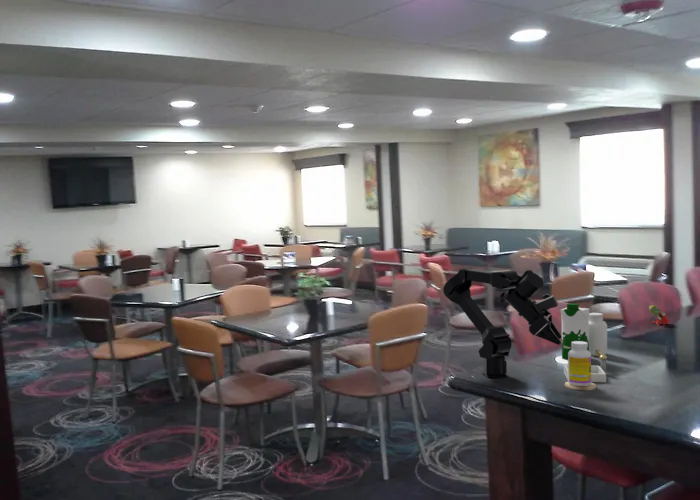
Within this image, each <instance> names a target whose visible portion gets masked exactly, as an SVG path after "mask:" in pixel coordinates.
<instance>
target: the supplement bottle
mask: <svg viewBox="0 0 700 500" xmlns="http://www.w3.org/2000/svg"><path fill="white" fill-rule="evenodd" d="M571 346H572V350H570V351H569V352H568V359H567V365H568V379H567V382H568V383H569V384H571V385H573V386H589V385H590V384H591V383H592V382H591V366H592V355H591V353H590V352H589V351H587V347H588V343H587V342H583V341H573V342H571Z"/></svg>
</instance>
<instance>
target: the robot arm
mask: <svg viewBox="0 0 700 500" xmlns="http://www.w3.org/2000/svg"><path fill="white" fill-rule="evenodd" d="M473 282H476V283H477V282H478V283H484V284H487V285H488V284H489V285H490V286H491V287H492V288H495V289H497V290H507V291H506V292H502V293H501V294H499V296H500V299H499V300H500V301H499V302H500V304H504V302H507V303H508V305H510V306H511V307H512V308H513V309H514V310H515V311H516V312H517V313H518V316H520V317H522V318H523V319H524V320H525V321H526V322H527V324H528V325H529V326H528V331H529V333H530V334H531V335H532V336H535V337H538V338H541V339H543V340H546V341H548V342H551V343H553V344H556V345H558V346H559V345H561V344H562V340H561V339H562V333H560V331H559V330H558V329H557V327H556V325H555V324H554V322H553V314H552V311H550V310H551V309H554V308H557V307H558V306H559V303H558V301H557V299H556V297H555V295H554V294H552V295H550V294H549V293H546V294H543V296H542V297H543V298H542V299H541V300H539V301H536V300H535V299H531V298H532V297H533V296H534V295H535V294H536V293H538V292H539V291H540V290H541V289H542V288H543V287H544V280H543V279H542V277H540V276H539V275H538V274H536V273H535V272H533V270H532V269H527V270H525V272H523V274H522V275H519V274H518V273H517V271H516V270H504V271H503V270H501V271H492V270H483V269H476V268H473V267H467V268H465V267H463V268H461V269H460V270H458V272H457V273H456V274H455V275H453V276H452V277H451V278H449V279H448V280H447V281H446V282H445V284H444V285H443V287H442V288H443V290H442V292H443V294H444V296H445V297H446V298H447V299H448V300H449V301H450V302H452V303H453V304H456V305H458V306H459V307H460V309H461V311H463V312H464V314H465V315H466V317H467V318H468V319H469V321H470V322H471V323H472V324H473V326H474V327H475V328H476V329H477V331H478V332H479V333H480V335H481V342H482V347H481V348H479V350H478V355H479V357H480V358H482V359H483V370H482V371H481V372H482V374H483V375H484V376H485V377H487V378H503V377H504V378H507V377H508V375H507V373H508V372H507V371H508V370H507V366H508V365H507V360H506V357H509V355H510V351H511V349H512V341H513V340H511V337H510V336H511V335H510V334H509V333H508V332H507V331H506V329H505V328H504V327H503V326H497V327H495V326H494V325H493V323H492V322H491V321H490V320H489V319H488V316H486V315H485V313H484V312H483V311H482V310H481V308H480V307H479V306H478V305H477V303H476V302H475V301H474V299H473V298H472V295H471V294H472V293H471V291H472V290H471V287H472V286H473Z"/></svg>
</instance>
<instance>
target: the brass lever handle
mask: <svg viewBox="0 0 700 500" xmlns="http://www.w3.org/2000/svg"><path fill="white" fill-rule="evenodd" d="M595 357H599V359H600V360H601V359H606V360H608V358H607V357H608V356H607V355H603V354H602V352H601V351H600V350H599V349H596V356H595Z"/></svg>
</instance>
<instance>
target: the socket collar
mask: <svg viewBox="0 0 700 500" xmlns="http://www.w3.org/2000/svg"><path fill="white" fill-rule="evenodd" d="M563 374H564V375H565V377H566V379H567V380H568V364H564V365H563ZM606 382H607V359H600V365H591V383H606Z"/></svg>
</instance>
